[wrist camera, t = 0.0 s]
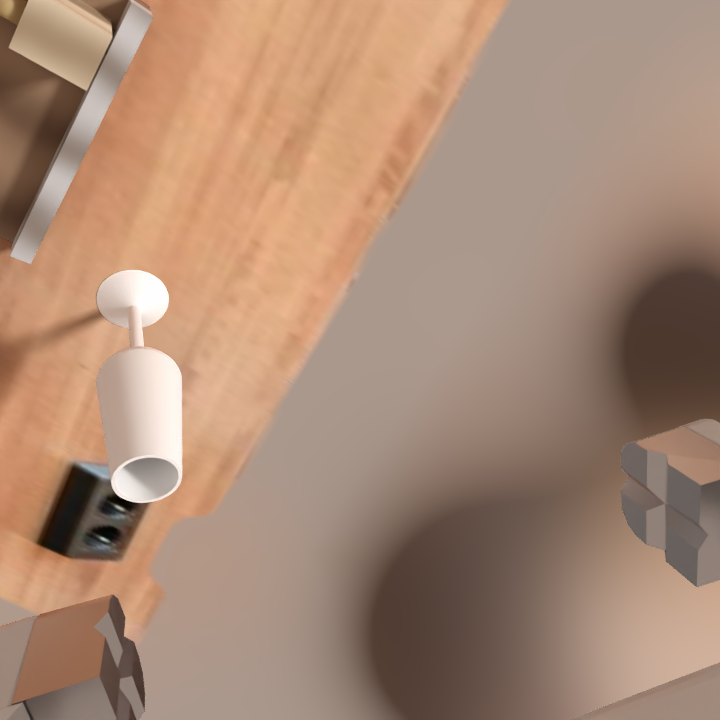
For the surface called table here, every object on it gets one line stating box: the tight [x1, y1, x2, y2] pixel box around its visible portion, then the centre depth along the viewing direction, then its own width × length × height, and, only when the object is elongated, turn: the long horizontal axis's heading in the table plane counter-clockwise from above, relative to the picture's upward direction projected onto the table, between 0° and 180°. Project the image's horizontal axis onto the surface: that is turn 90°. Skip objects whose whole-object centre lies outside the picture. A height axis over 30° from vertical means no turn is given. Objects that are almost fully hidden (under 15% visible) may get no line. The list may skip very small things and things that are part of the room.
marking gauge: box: [0, 0, 112, 91], centre depth 43 cm, size 4×9×6 cm, turn 53°
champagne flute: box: [96, 270, 182, 503], centre depth 55 cm, size 7×7×24 cm
